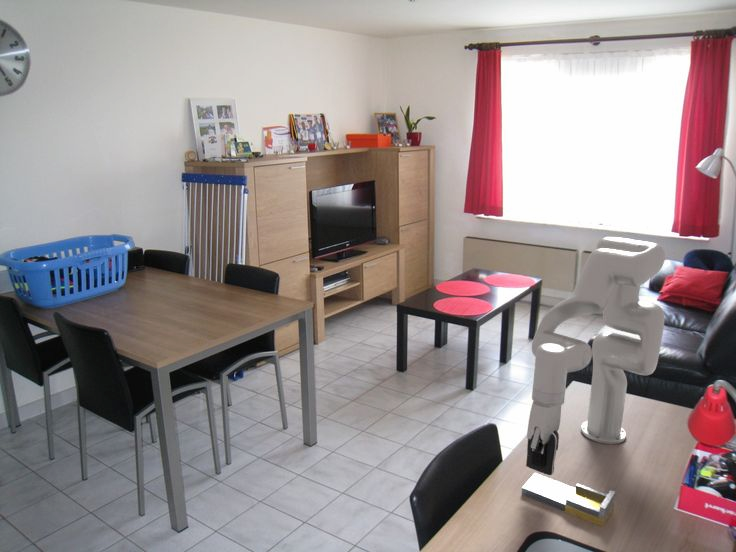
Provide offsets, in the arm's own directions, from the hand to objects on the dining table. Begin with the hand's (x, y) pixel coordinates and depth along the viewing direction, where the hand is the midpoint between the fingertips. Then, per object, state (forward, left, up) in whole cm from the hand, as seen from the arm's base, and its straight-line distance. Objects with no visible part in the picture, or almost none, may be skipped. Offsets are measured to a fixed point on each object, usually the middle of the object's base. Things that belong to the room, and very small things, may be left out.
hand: (541, 460), depth 150 cm
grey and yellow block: (0, +7, -9) cm, 11 cm away
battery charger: (0, 0, -2) cm, 2 cm away
